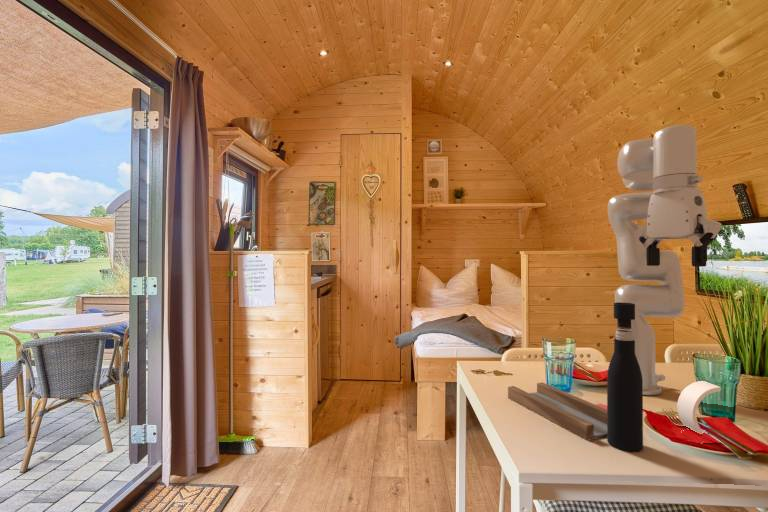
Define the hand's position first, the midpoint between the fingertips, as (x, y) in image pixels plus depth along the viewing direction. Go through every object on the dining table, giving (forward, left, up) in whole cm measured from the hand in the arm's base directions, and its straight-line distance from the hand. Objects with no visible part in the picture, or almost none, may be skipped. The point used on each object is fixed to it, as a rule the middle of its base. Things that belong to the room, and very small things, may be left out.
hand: (674, 266), depth 84 cm
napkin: (-1, -17, -38) cm, 42 cm away
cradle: (+10, -21, -38) cm, 45 cm away
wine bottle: (+10, -3, -38) cm, 40 cm away
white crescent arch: (-8, 0, -38) cm, 39 cm away
